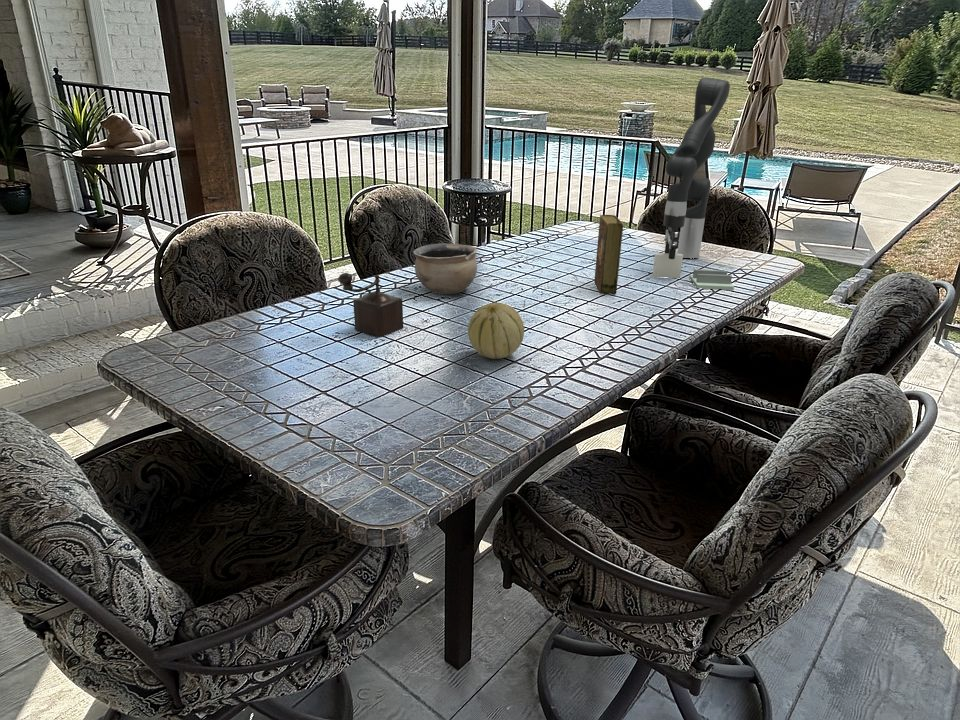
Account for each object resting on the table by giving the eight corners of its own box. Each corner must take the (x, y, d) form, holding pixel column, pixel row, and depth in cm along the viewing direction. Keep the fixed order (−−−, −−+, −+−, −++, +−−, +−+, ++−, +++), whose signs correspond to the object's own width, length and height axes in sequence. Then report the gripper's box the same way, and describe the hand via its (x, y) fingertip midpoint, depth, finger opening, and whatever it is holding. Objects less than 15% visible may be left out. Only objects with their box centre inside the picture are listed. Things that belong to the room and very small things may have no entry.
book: (593, 282, 237) (599, 214, 228) (608, 282, 237) (614, 214, 228) (600, 295, 222) (607, 223, 213) (616, 295, 222) (623, 223, 212)
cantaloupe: (520, 346, 176) (522, 294, 171) (525, 367, 163) (528, 311, 157) (467, 346, 176) (467, 293, 170) (467, 367, 162) (468, 311, 157)
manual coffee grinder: (377, 320, 194) (374, 262, 187) (404, 328, 188) (402, 268, 181) (339, 334, 183) (334, 273, 176) (366, 343, 177) (362, 280, 170)
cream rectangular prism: (652, 275, 248) (655, 252, 244) (678, 276, 247) (681, 253, 243) (653, 277, 245) (656, 254, 242) (679, 278, 244) (683, 255, 241)
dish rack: (689, 278, 244) (690, 267, 243) (723, 280, 243) (725, 268, 241) (696, 288, 231) (698, 276, 230) (733, 290, 230) (735, 278, 229)
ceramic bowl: (469, 303, 212) (469, 258, 206) (406, 298, 216) (404, 254, 210) (482, 285, 232) (482, 244, 226) (424, 280, 236) (423, 240, 230)
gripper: (661, 209, 243) (656, 252, 249) (668, 216, 230) (662, 260, 236) (681, 210, 243) (675, 252, 249) (689, 216, 229) (683, 261, 236)
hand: (669, 256), depth 242 cm, fingers open, 8 cm apart
